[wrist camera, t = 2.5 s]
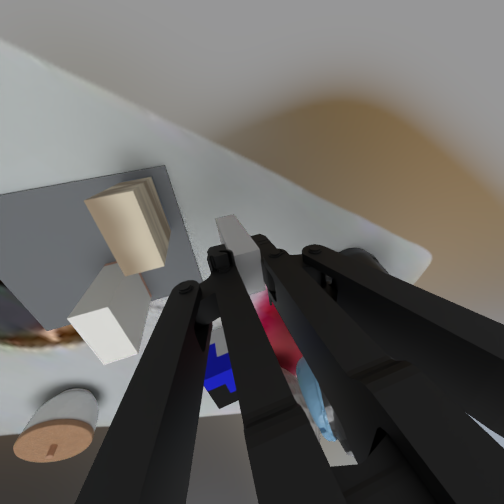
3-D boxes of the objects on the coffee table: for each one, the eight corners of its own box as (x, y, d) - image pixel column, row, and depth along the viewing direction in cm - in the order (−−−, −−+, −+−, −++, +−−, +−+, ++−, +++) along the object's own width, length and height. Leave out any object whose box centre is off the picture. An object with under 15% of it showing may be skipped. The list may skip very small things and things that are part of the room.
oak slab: (152, 176, 29) (133, 190, 18) (171, 229, 32) (164, 266, 22) (121, 181, 28) (83, 200, 18) (144, 235, 32) (124, 276, 21)
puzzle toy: (198, 336, 44) (201, 381, 36) (242, 318, 45) (255, 358, 37) (213, 363, 49) (219, 408, 40) (252, 346, 50) (266, 387, 42)
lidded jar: (44, 379, 38) (6, 441, 30) (111, 380, 43) (93, 434, 35) (38, 416, 41) (3, 480, 33) (101, 413, 46) (83, 469, 38)
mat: (164, 165, 29) (164, 165, 28) (203, 284, 39) (203, 285, 39) (-62, 206, 24) (-66, 207, 24) (48, 329, 34) (47, 331, 34)
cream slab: (132, 257, 33) (107, 306, 22) (151, 295, 36) (138, 353, 26) (105, 263, 32) (66, 318, 22) (127, 302, 36) (104, 365, 25)
